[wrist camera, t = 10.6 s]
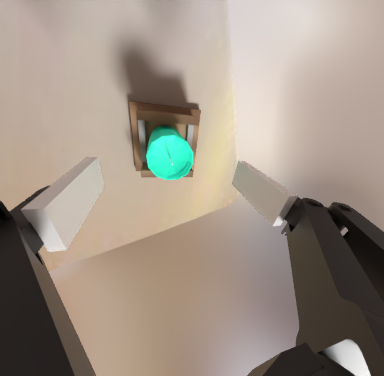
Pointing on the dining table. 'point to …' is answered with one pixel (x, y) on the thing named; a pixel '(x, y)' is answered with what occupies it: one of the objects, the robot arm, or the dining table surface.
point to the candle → (168, 153)
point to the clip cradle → (156, 116)
